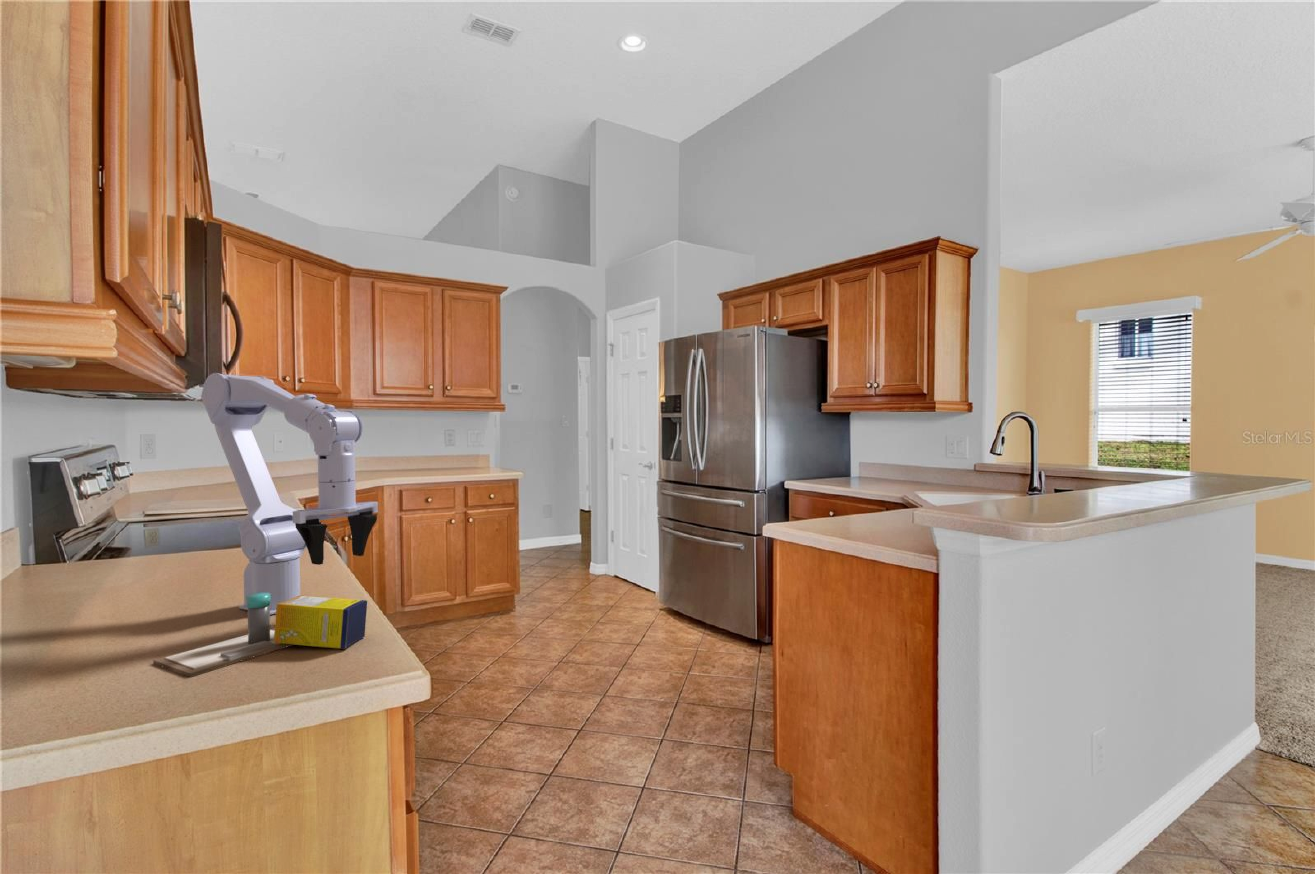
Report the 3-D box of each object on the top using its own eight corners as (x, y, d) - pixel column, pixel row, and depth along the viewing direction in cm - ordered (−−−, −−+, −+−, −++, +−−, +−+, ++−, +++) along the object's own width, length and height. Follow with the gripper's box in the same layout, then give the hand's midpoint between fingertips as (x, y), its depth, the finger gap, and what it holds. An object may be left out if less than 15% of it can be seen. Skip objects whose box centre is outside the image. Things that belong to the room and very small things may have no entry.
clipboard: (153, 663, 88) (153, 655, 88) (270, 630, 102) (270, 623, 102) (189, 677, 83) (189, 669, 83) (307, 640, 97) (307, 633, 97)
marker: (243, 642, 94) (242, 596, 94) (264, 637, 97) (263, 591, 97) (254, 646, 93) (253, 599, 93) (275, 640, 95) (274, 594, 95)
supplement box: (365, 638, 98) (296, 632, 99) (368, 599, 98) (299, 594, 99) (345, 650, 92) (272, 644, 93) (348, 609, 93) (275, 603, 93)
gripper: (310, 485, 101) (311, 570, 101) (388, 478, 113) (389, 553, 113) (284, 484, 104) (286, 566, 104) (363, 477, 117) (364, 550, 117)
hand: (338, 559), depth 109 cm, fingers open, 7 cm apart
